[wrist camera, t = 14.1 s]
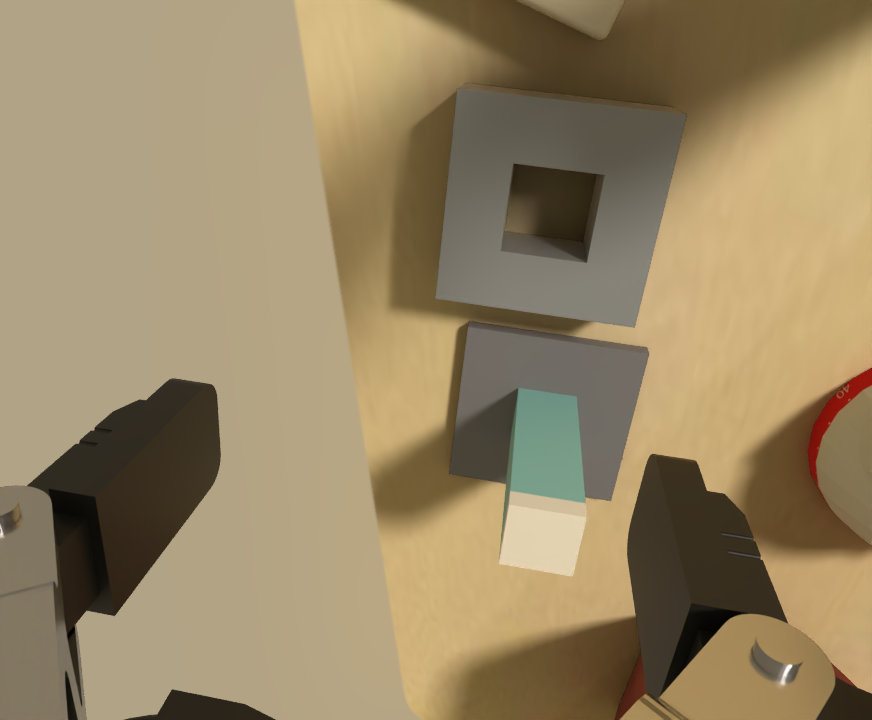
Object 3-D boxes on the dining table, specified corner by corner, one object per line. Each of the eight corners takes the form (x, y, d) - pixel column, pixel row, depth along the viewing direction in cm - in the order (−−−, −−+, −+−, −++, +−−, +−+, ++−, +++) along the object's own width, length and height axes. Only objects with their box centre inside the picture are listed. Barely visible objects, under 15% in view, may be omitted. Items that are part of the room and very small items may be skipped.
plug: (576, 396, 47) (586, 517, 35) (566, 445, 49) (572, 576, 37) (518, 387, 47) (509, 504, 35) (510, 436, 49) (498, 563, 37)
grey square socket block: (672, 107, 39) (687, 114, 35) (626, 301, 45) (634, 327, 41) (466, 82, 40) (457, 87, 36) (445, 275, 46) (435, 298, 42)
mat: (647, 347, 46) (649, 353, 45) (609, 492, 51) (610, 501, 50) (469, 321, 47) (467, 326, 46) (450, 466, 52) (448, 473, 51)
